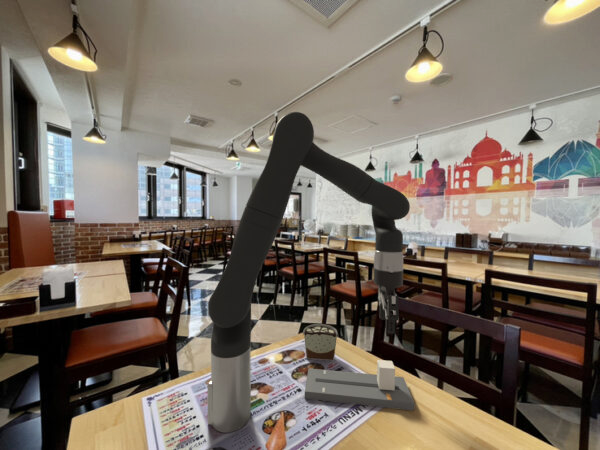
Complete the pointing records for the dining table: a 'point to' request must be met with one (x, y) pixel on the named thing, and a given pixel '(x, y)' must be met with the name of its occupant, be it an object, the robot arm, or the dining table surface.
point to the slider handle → (385, 375)
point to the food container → (320, 341)
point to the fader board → (356, 389)
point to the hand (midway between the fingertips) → (386, 325)
